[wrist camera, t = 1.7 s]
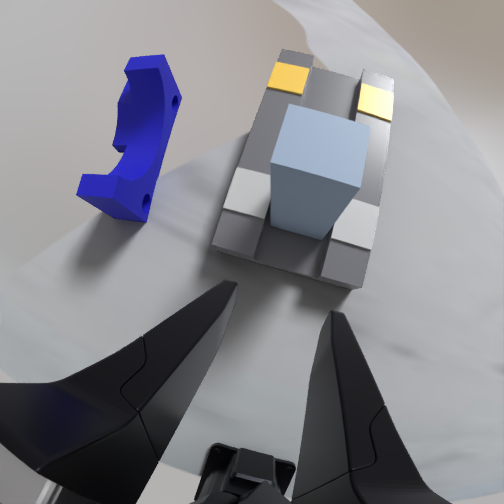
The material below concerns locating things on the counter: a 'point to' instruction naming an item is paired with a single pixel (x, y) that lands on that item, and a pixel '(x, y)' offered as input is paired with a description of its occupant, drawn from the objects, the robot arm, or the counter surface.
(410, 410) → the counter surface
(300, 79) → the switch housing
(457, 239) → the counter surface
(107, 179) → the cable clip
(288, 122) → the tab
